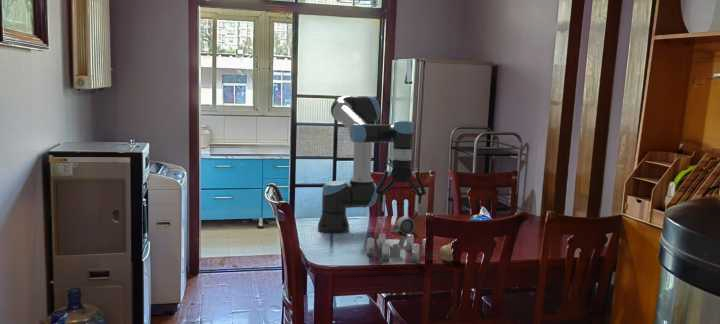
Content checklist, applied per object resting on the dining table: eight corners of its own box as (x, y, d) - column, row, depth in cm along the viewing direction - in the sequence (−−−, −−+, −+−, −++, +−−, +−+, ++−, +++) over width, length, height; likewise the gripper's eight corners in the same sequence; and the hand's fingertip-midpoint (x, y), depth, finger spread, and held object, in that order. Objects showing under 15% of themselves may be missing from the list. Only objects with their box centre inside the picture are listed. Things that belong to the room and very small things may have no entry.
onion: (461, 263, 215) (462, 246, 214) (442, 263, 213) (443, 246, 212) (453, 257, 222) (454, 240, 222) (435, 257, 221) (436, 241, 220)
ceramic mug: (409, 229, 266) (410, 214, 265) (414, 234, 258) (415, 218, 257) (389, 230, 263) (389, 215, 262) (393, 235, 256) (394, 219, 255)
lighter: (392, 257, 219) (393, 238, 218) (389, 256, 220) (390, 237, 219) (405, 255, 223) (406, 236, 222) (402, 254, 224) (403, 235, 223)
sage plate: (378, 248, 232) (378, 245, 232) (376, 241, 242) (376, 239, 242) (410, 248, 233) (410, 245, 233) (407, 242, 243) (407, 239, 242)
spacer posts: (367, 262, 212) (368, 244, 211) (364, 249, 229) (365, 233, 229) (433, 263, 213) (434, 245, 212) (425, 250, 231) (425, 234, 230)
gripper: (371, 159, 212) (370, 212, 215) (434, 161, 214) (431, 213, 216) (370, 157, 220) (368, 208, 222) (430, 159, 221) (428, 209, 224)
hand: (399, 211), depth 219 cm, fingers open, 13 cm apart
